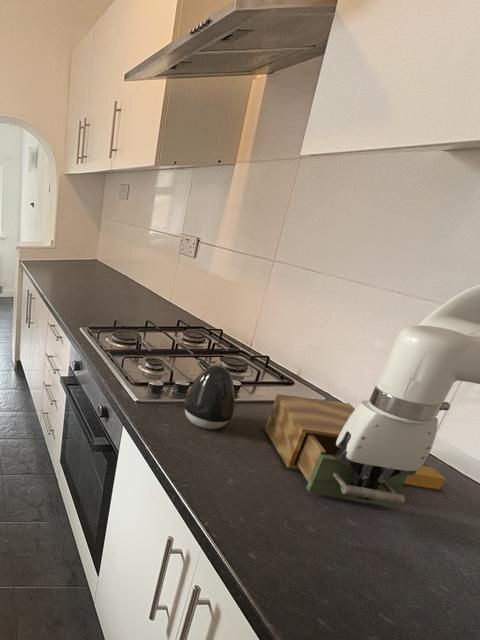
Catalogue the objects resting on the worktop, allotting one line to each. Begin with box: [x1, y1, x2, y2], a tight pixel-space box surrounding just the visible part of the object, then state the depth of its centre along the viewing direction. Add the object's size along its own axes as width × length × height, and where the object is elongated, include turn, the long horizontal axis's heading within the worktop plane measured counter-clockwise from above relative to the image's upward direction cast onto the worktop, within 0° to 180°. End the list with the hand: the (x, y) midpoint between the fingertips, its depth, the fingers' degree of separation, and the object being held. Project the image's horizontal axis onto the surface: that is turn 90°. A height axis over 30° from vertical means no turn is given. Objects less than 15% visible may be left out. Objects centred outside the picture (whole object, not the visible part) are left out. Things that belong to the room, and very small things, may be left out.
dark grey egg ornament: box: [183, 360, 235, 430], centre depth 97 cm, size 10×10×15 cm
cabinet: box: [264, 393, 356, 471], centre depth 87 cm, size 15×14×10 cm
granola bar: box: [403, 465, 446, 490], centre depth 81 cm, size 8×3×3 cm, turn 72°
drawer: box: [295, 433, 408, 508], centre depth 77 cm, size 18×12×8 cm
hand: (359, 493), depth 73 cm, fingers closed
